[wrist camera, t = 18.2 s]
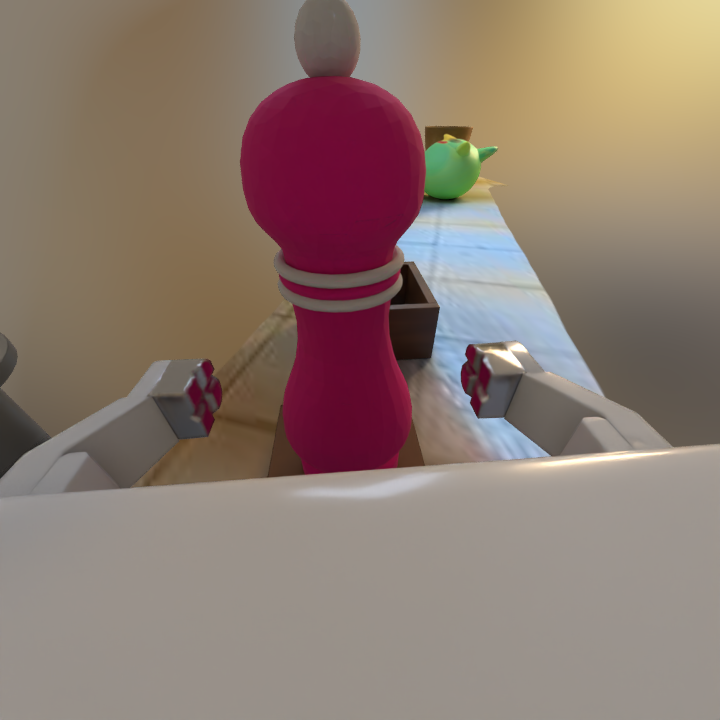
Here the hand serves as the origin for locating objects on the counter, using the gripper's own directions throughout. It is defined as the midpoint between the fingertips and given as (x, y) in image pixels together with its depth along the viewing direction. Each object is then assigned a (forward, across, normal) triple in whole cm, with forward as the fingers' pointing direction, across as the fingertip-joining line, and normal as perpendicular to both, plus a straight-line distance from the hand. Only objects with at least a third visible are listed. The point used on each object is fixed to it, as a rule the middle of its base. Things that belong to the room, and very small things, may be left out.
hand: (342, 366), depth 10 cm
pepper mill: (+4, 0, +11) cm, 12 cm away
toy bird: (+87, -31, +12) cm, 93 cm away
